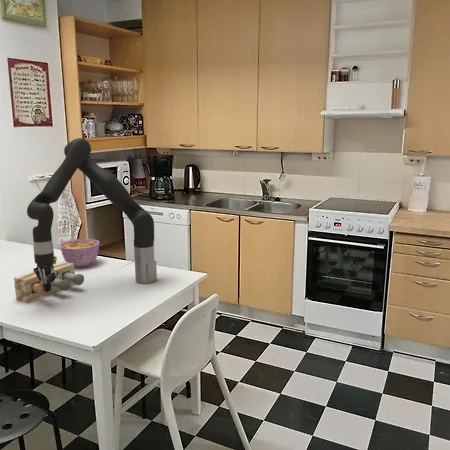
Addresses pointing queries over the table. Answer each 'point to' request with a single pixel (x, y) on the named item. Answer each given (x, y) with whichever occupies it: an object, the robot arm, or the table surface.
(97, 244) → the bowl of food
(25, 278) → the socket rail
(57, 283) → the grey dowel
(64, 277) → the grey dowel
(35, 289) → the dowel terracotta
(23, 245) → the table surface
